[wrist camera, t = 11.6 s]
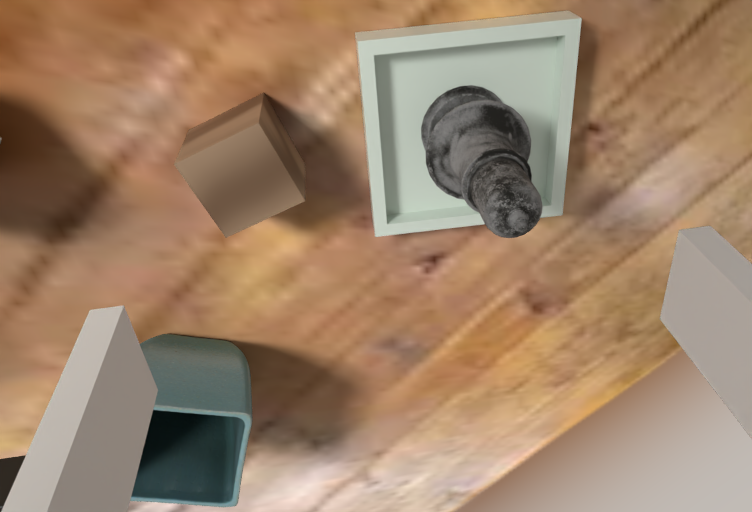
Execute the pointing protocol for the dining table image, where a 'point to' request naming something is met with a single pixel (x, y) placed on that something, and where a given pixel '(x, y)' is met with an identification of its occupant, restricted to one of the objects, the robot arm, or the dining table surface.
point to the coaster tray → (450, 70)
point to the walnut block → (243, 166)
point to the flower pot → (195, 422)
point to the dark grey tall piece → (482, 158)
